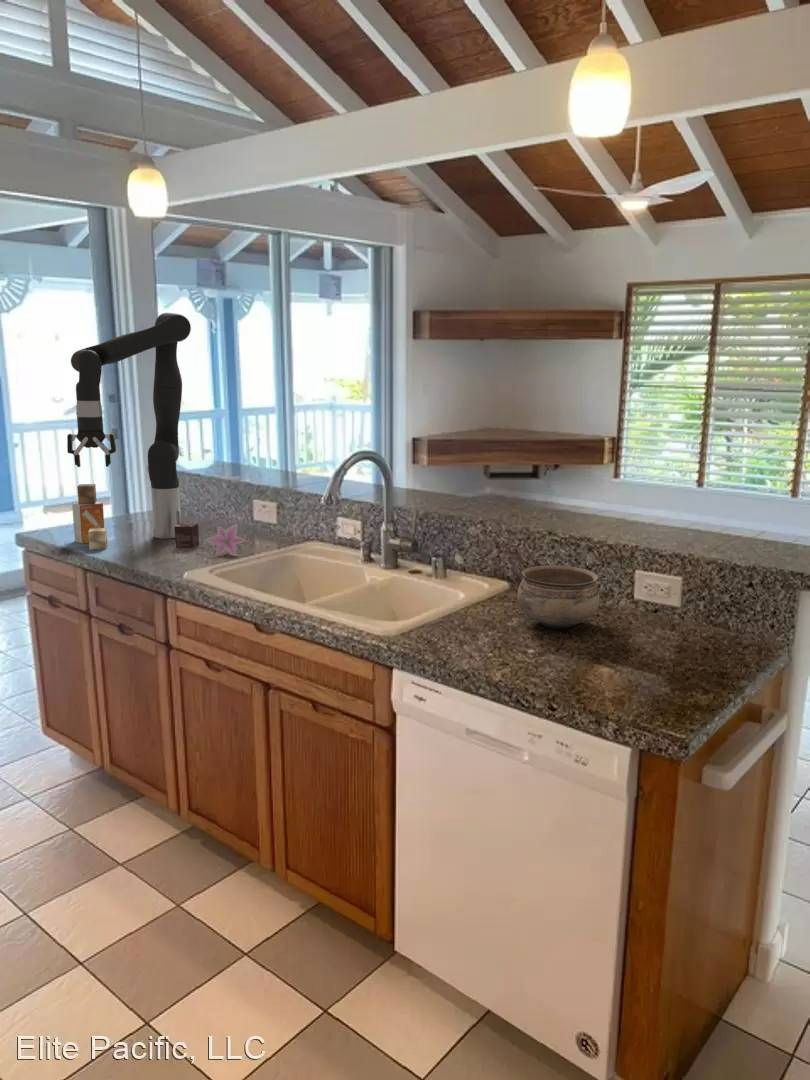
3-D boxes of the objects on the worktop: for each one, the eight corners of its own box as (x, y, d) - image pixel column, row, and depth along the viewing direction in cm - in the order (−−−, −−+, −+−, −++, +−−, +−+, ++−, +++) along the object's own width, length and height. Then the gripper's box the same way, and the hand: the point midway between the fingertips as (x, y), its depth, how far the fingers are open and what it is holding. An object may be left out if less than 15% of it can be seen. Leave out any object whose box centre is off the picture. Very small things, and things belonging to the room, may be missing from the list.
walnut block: (96, 501, 271) (95, 483, 270) (94, 504, 266) (93, 486, 265) (80, 501, 270) (79, 484, 268) (78, 504, 265) (77, 486, 264)
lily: (202, 555, 256) (201, 535, 250) (223, 537, 264) (222, 516, 258) (231, 569, 253) (230, 549, 247) (251, 550, 261) (251, 530, 255)
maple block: (107, 545, 264) (106, 528, 263) (106, 549, 260) (104, 531, 258) (91, 546, 263) (90, 528, 262) (89, 549, 258) (88, 531, 257)
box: (199, 544, 268) (198, 523, 266) (193, 548, 262) (192, 526, 260) (182, 544, 268) (181, 522, 267) (175, 548, 262) (174, 526, 261)
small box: (82, 544, 266) (79, 505, 263) (74, 541, 270) (71, 502, 267) (105, 540, 271) (103, 502, 268) (98, 537, 276) (95, 500, 273)
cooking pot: (551, 605, 205) (554, 558, 202) (619, 621, 192) (622, 572, 189) (492, 627, 187) (494, 576, 184) (562, 647, 174) (565, 593, 172)
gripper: (114, 414, 257) (117, 464, 261) (67, 414, 254) (71, 465, 258) (112, 416, 250) (115, 467, 254) (63, 416, 247) (67, 468, 250)
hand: (93, 466), depth 256 cm, fingers open, 8 cm apart
